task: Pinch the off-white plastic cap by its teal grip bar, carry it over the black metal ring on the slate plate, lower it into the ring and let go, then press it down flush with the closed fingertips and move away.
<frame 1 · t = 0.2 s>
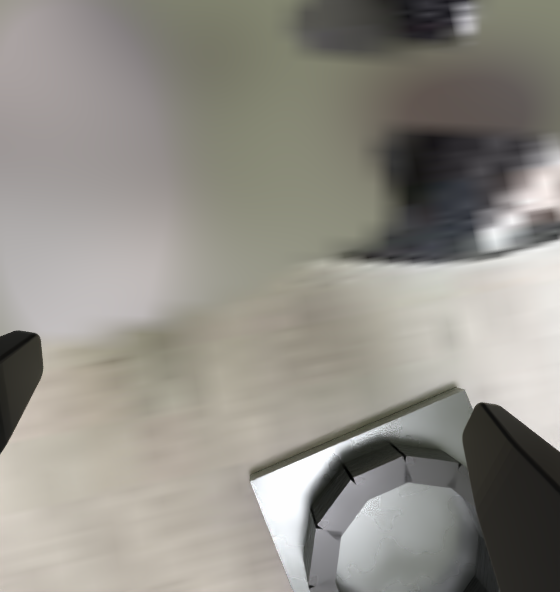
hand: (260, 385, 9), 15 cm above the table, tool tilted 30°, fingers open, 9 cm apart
square ring flange: (397, 536, 24), on the table
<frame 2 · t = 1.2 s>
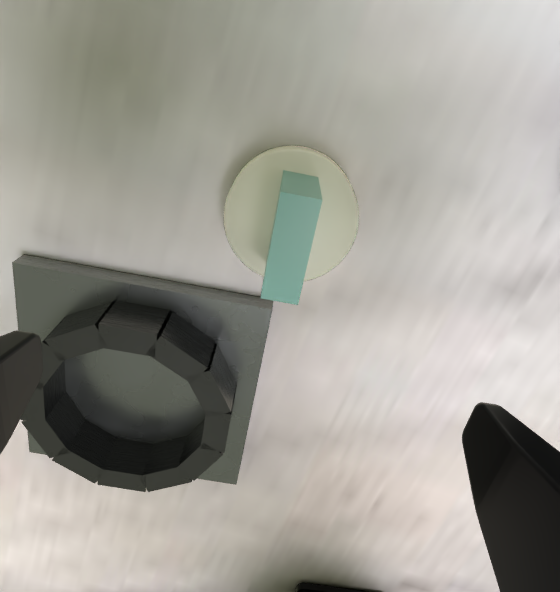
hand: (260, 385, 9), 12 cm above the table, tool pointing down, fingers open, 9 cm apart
cap: (291, 210, 20), on the table
square ring flange: (144, 376, 25), on the table
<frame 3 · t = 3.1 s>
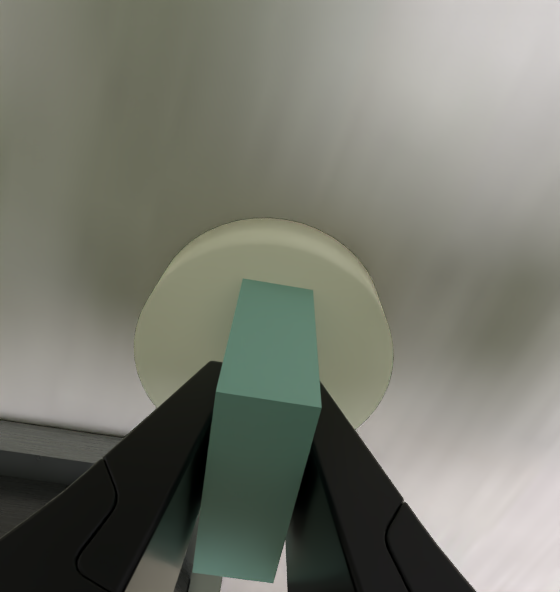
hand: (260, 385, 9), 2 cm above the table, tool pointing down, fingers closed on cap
cap: (267, 326, 11), on the table, touching gripper
square ring flange: (51, 552, 16), on the table
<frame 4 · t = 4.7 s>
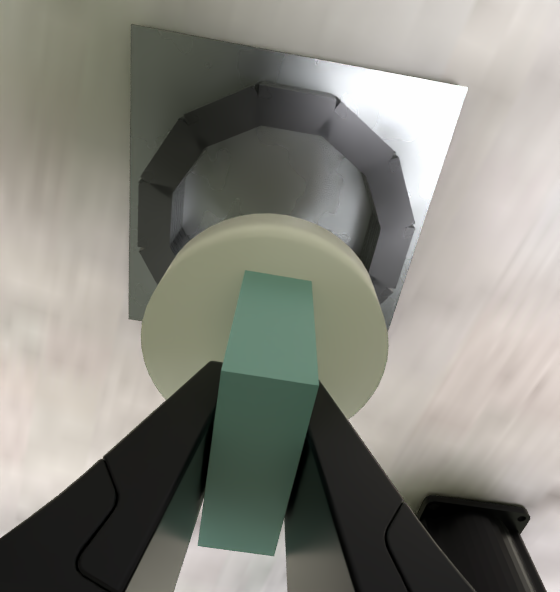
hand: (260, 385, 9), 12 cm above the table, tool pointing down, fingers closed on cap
cap: (267, 318, 12), point 9 cm above the table, touching gripper
square ring flange: (276, 211, 20), on the table
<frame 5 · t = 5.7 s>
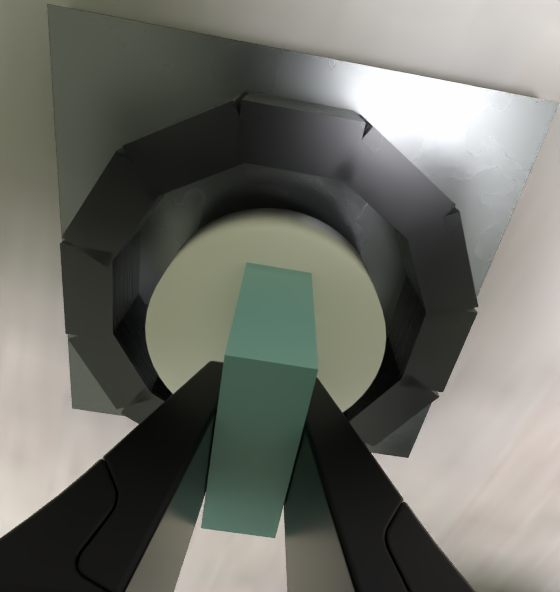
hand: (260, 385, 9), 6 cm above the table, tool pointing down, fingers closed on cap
cap: (268, 310, 12), point 2 cm above the table, touching gripper
square ring flange: (271, 269, 14), on the table
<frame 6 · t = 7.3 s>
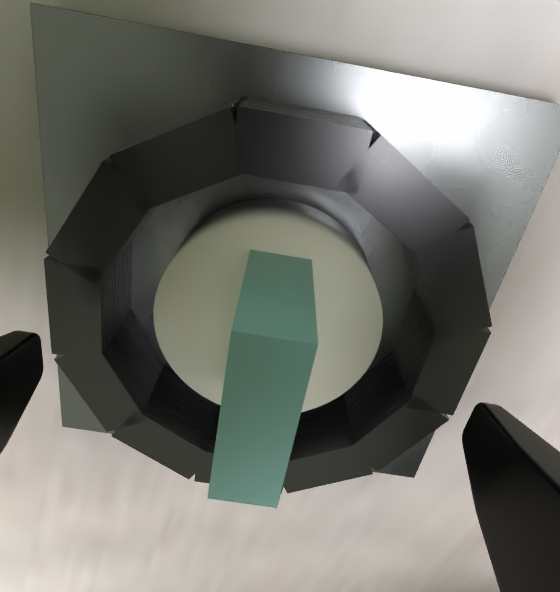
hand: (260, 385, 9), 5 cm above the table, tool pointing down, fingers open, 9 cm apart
cap: (270, 298, 13), point 1 cm above the table, touching square ring flange
square ring flange: (271, 282, 13), on the table
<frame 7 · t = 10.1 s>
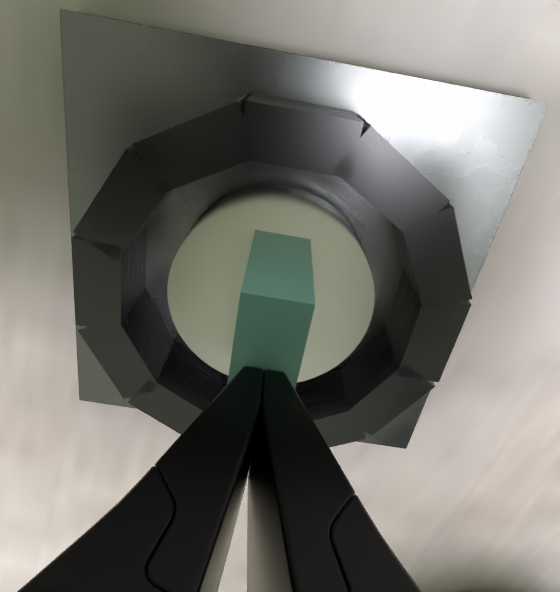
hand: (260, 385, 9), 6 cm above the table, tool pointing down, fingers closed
cap: (273, 277, 14), point 1 cm above the table, touching square ring flange
square ring flange: (273, 264, 15), on the table
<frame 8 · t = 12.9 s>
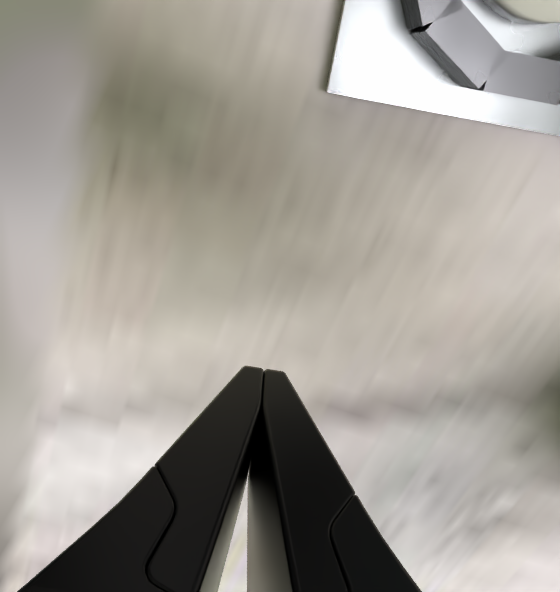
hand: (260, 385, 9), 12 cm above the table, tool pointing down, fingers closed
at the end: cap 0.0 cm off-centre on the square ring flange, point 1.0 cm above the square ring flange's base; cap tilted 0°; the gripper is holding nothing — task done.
